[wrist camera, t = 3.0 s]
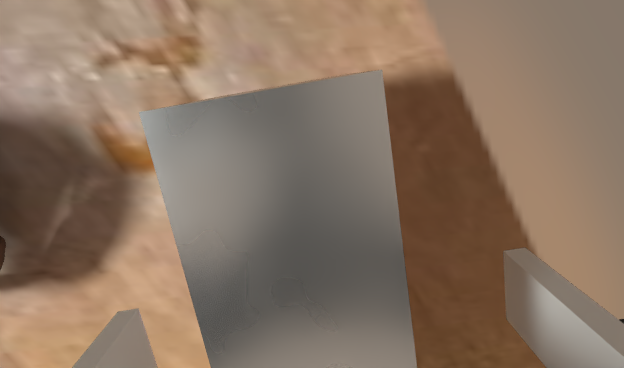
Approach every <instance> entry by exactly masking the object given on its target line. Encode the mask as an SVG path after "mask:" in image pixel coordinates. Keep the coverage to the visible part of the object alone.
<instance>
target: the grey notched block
mask: <svg viewBox="0 0 624 368" xmlns="http://www.w3.org/2000/svg"><path fill="white" fill-rule="evenodd" d="M139 114H140V117H141V121H142V125H143V128H144V132H145V135H146V139H147V142H148V146H149V149H150V153H151V156H152V160H153V164H154V167H155V171H156V174H157V178H158V181H159V185H160V188H161V192H162V195H163V199H164V203H165V206H166V210H167V213H168V217H169V220H170V224H171V227H172V231H173V234H174V238H175V242H176V245H177V249H178V252H179V256H180V259H181V263H182V266H183V270H184V274H185V277H186V281H187V284H188V288H189V291H190V295H191V298H192V302H193V305H194V309H195V313H196V316H197V320H198V323H199V327H200V330H201V334H202V337H203V341H204V344H205V348H206V352H207V355H208V359H209V362H210V366H211V368H417V362H416V354H415V345H414V337H413V328H412V320H411V311H410V303H409V294H408V286H407V277H406V269H405V260H404V252H403V243H402V235H401V226H400V218H399V209H398V201H397V192H396V184H395V175H394V166H393V158H392V149H391V141H390V132H389V124H388V115H387V107H386V98H385V90H384V81H383V73H382V70H376V71H368V72H361V73H353V74H345V75H339V76H333V77H328V78H322V79H316V80H311V81H305V82H299V83H294V84H288V85H282V86H276V87H271V88H265V89H259V90H254V91H248V92H242V93H237V94H231V95H225V96H220V97H215V98H210V99H205V100H200V101H194V102H189V103H184V104H179V105H174V106H169V107H164V108H159V109H153V110H148V111H143V112H139Z"/></svg>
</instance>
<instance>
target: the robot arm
mask: <svg viewBox="0 0 624 368" xmlns="http://www.w3.org/2000/svg"><path fill="white" fill-rule="evenodd" d="M503 258H504V281H505V303H506V319H507V321H508V322H509V323H510V324H511V325H512V327H513V328H514V329H515V330H516V331H517V333H518V334H519V335H520V336H521V338H522V339H523V340H524V341H525V342H526V344H527V345H528V346H529V347H530V348H531V350H532V351H533V352H534V353H535V354H536V356H537V357H538V358H539V359H540V361H541V362H542V363H543V364H544V365H545V367H546V368H624V319H620V320H618V319H617V318H615V317H614V316H613V315H612V314H610V313H609V312H608V311H607V310H605V309H604V308H603V307H601V306H600V305H599V304H598V303H596V302H595V301H594V300H592V299H591V298H590V297H588V296H587V295H586V294H585V293H583V292H582V291H581V290H579V289H578V288H577V287H576V286H574V285H573V284H572V283H570V282H569V281H568V280H567V279H565V278H564V277H563V276H561V275H560V274H559V273H557V272H556V271H555V270H554V269H552V268H551V267H550V266H548V265H547V264H546V263H545V262H543V261H542V260H541V259H539V258H538V257H537V256H536V255H534V254H533V253H532V252H530V251H529V250H528V249H526V248H519V249H513V250H506V251H503ZM72 368H158V367H157V364H156V361H155V358H154V355H153V352H152V349H151V346H150V342H149V339H148V336H147V333H146V330H145V327H144V324H143V321H142V318H141V315H140V312H139V309H132V310H125V311H119V312H117V313H116V315H115V316H114V317H113V318H112V320H111V321H110V322H109V323H108V324H107V326H106V327H105V328H104V329H103V331H102V332H101V333H100V334H99V335H98V337H97V338H96V339H95V340H94V341H93V343H92V344H91V345H90V346H89V348H88V349H87V350H86V351H85V352H84V354H83V355H82V356H81V357H80V359H79V360H78V361H77V362H76V363H75V365H74V366H73V367H72Z"/></svg>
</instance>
